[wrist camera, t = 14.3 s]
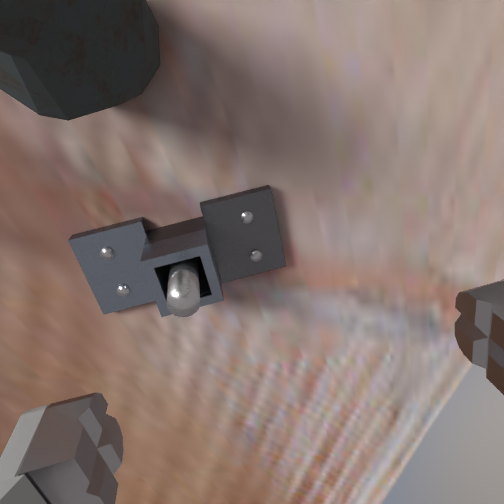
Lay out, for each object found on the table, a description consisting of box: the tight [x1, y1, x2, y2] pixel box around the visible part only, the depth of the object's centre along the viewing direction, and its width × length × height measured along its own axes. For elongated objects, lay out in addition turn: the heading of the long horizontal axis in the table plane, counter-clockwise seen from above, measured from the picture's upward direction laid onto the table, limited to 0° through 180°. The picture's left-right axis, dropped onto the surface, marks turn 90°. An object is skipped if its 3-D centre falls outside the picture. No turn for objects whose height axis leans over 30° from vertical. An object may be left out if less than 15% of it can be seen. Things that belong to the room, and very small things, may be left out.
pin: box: [166, 257, 200, 317], centre depth 40 cm, size 3×3×12 cm
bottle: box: [0, 0, 160, 120], centre depth 22 cm, size 10×10×30 cm
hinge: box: [68, 185, 286, 317], centre depth 41 cm, size 23×10×8 cm, turn 103°
